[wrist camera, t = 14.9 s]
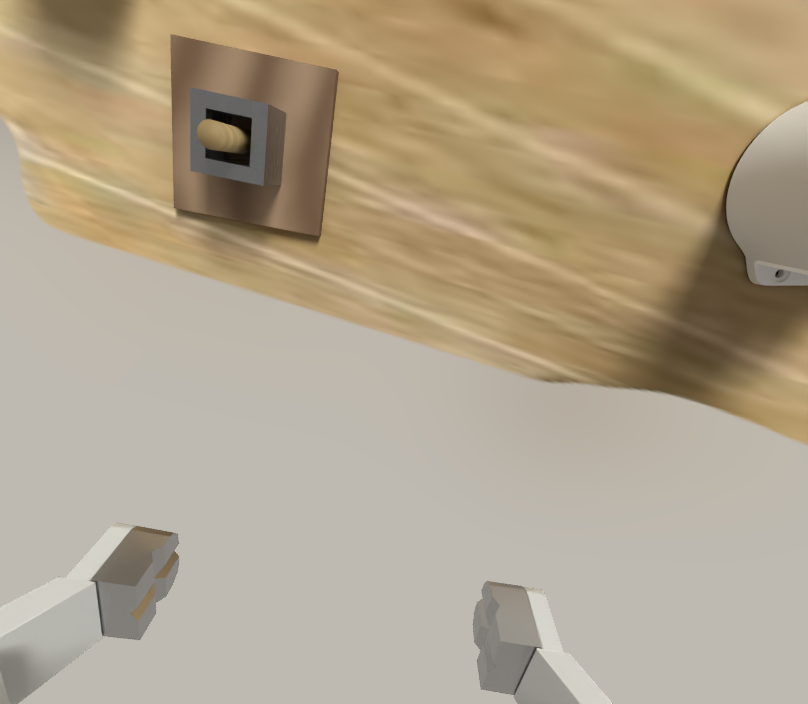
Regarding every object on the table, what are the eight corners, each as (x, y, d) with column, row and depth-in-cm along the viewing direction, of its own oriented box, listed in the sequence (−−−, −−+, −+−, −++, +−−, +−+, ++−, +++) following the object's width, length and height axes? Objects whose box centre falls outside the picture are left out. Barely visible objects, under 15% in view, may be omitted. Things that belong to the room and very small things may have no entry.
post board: (338, 72, 37) (316, 41, 28) (320, 235, 42) (297, 249, 34) (176, 38, 36) (105, -4, 28) (179, 207, 41) (120, 214, 33)
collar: (286, 112, 37) (268, 103, 33) (281, 185, 39) (263, 185, 35) (218, 98, 37) (190, 87, 32) (216, 171, 39) (190, 170, 35)
